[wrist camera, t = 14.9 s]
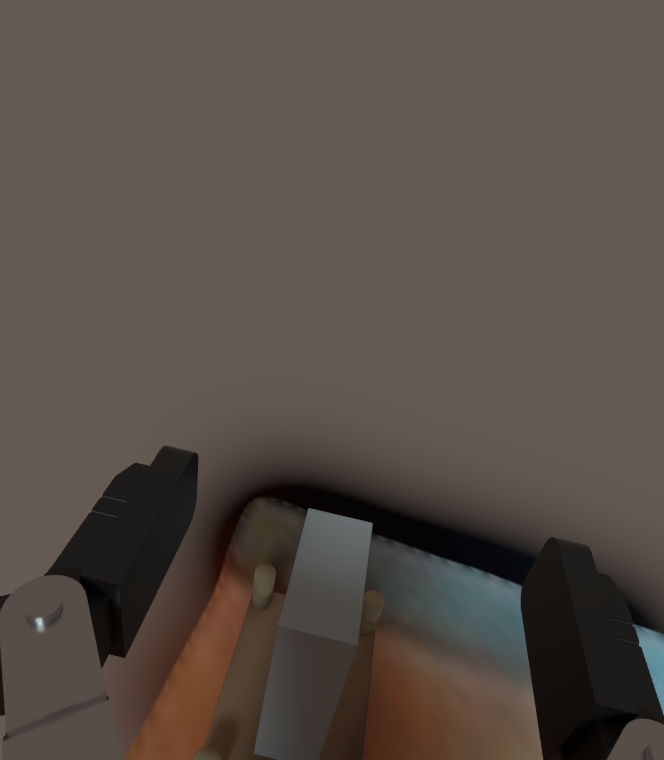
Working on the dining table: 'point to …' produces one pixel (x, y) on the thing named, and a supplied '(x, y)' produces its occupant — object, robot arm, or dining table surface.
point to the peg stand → (250, 675)
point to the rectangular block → (315, 637)
